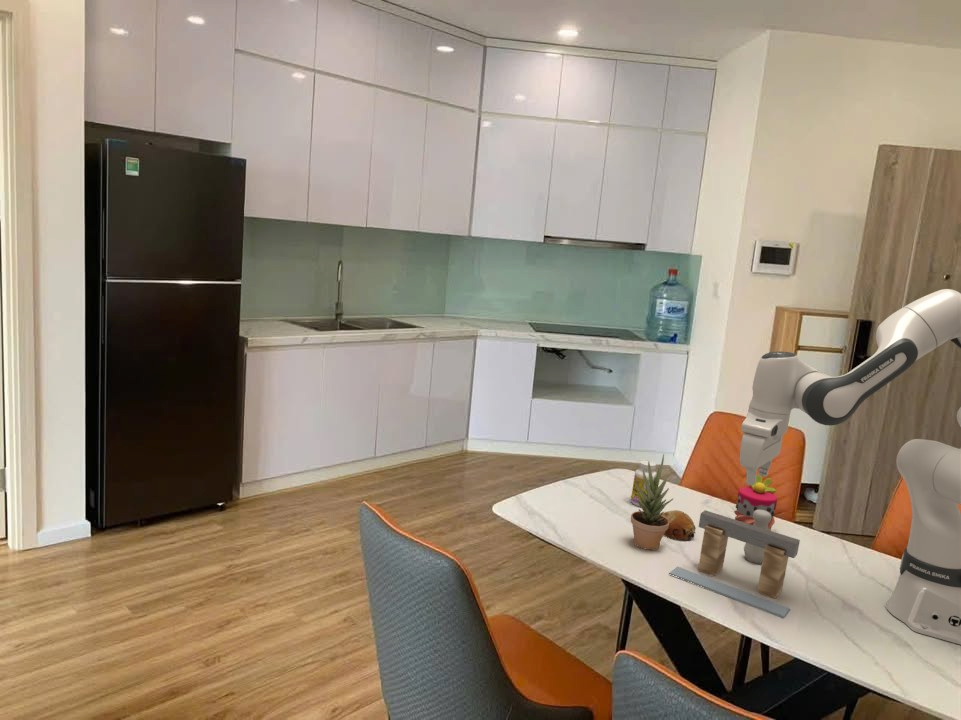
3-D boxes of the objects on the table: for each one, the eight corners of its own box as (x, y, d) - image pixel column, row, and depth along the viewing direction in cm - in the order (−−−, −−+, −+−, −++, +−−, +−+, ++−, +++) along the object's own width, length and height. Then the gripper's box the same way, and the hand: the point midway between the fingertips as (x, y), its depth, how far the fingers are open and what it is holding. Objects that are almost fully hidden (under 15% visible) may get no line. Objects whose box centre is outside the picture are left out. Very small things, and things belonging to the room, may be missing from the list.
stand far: (722, 568, 176) (730, 525, 174) (714, 576, 171) (721, 531, 169) (706, 562, 178) (713, 520, 176) (697, 570, 174) (705, 526, 172)
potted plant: (635, 552, 180) (649, 457, 176) (622, 536, 189) (635, 446, 185) (672, 553, 182) (687, 459, 177) (658, 537, 191) (671, 448, 187)
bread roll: (682, 540, 201) (679, 510, 203) (705, 539, 191) (701, 508, 193) (651, 541, 197) (648, 511, 199) (673, 541, 188) (669, 509, 190)
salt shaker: (768, 566, 180) (777, 517, 178) (744, 562, 181) (753, 513, 179) (764, 557, 185) (772, 509, 183) (740, 553, 186) (749, 505, 184)
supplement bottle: (627, 499, 218) (633, 458, 216) (648, 500, 219) (654, 459, 217) (634, 507, 211) (640, 465, 209) (656, 509, 212) (662, 467, 210)
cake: (775, 539, 198) (785, 487, 195) (735, 533, 200) (744, 481, 197) (767, 525, 208) (776, 476, 206) (729, 519, 210) (737, 470, 207)
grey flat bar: (789, 610, 158) (790, 608, 158) (783, 618, 154) (784, 616, 154) (677, 568, 173) (677, 566, 173) (668, 574, 169) (669, 572, 169)
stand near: (782, 589, 168) (790, 544, 166) (774, 598, 163) (783, 552, 161) (764, 583, 170) (772, 539, 168) (756, 592, 165) (765, 546, 163)
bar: (797, 554, 164) (799, 540, 163) (793, 558, 161) (796, 543, 161) (702, 523, 177) (705, 510, 176) (698, 526, 174) (700, 513, 174)
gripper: (766, 412, 174) (756, 467, 177) (739, 424, 158) (728, 484, 160) (793, 418, 170) (783, 474, 173) (768, 431, 154) (757, 493, 157)
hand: (756, 479), depth 166 cm, fingers open, 8 cm apart
